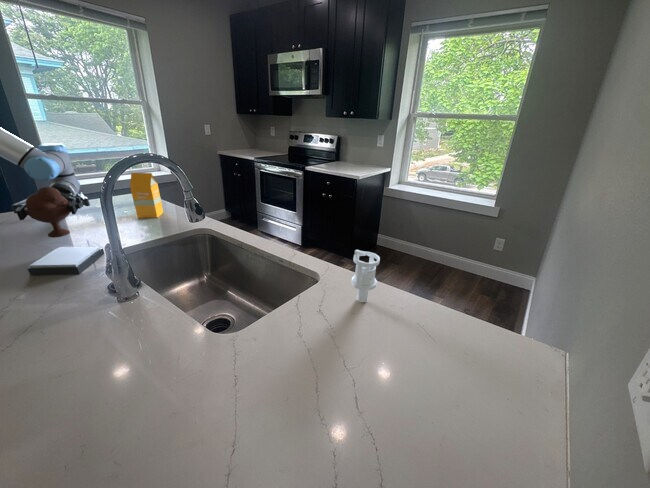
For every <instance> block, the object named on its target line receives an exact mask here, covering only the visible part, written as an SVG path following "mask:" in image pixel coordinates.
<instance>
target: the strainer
mask: <svg viewBox="0 0 650 488" xmlns="http://www.w3.org/2000/svg"><path fill="white" fill-rule="evenodd" d="M365 256H367V257H369V258H368V259H369V260H368V262H365V261H363V260H361V259H360V257H365ZM352 259H353V263H354V264H355V271H354V275H353V276H352V277H351V282H350V283H351V285H352V287H354V288H355V289H357V296H356V301H357V300H358V301H359V302H358V301H357V302H358V303H361V302H365V303H367V302H368V299H369V291H372V290H375V289H376V288H377V286H378V280H377V278H376V271H377V267H378V266H379V265H380V261H381V257H380V255H378V254H377V253H375V252H371V251H366V250H365V251H364V250H360V249H355V250H354V254H353V258H352Z"/></svg>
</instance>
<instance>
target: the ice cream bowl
mask: <svg viewBox="0 0 650 488" xmlns="http://www.w3.org/2000/svg"><path fill="white" fill-rule="evenodd" d="M70 204H71V202H70V201H67V199H66V198H65V197H63V196H62V195H61V193H60V192H59V191H58V190H57V189H55V188H53V187H49V186H45V187H41V188H39V189H38V190H37V192H34V193H32V194H29V196H27V198H26V207H24V209H25V211H26V213H27V214H28V215H27V216H29V217H30V218H31V219H32V220H35V221H37V222H41V223H48V224H50V225H51V226H52V230H51V231H50V232H48V233H47V237H48V238H61V237H64V236H68V235H69V234H71V231H70V230H69V229H68V228H62V227H61V226H60V222H61V221H63V220H65V219H66V218H67V217H68V216H69V215H70V214H72V212H71V209H70V207H69V206H70Z"/></svg>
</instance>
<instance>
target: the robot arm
mask: <svg viewBox="0 0 650 488" xmlns="http://www.w3.org/2000/svg"><path fill="white" fill-rule="evenodd" d="M37 147H38V148H37ZM37 147H35V146H34V145H32V144H30V143H29V142H26V141H24V140H23V139H21V138H19V137H18V136H16V135H14V134H12V133H10V132H9V131H7V130H5V129H4V128H2V127H0V157H1V158H3V159H4V160H6V161H9V162H10V163H12V164H14V165H16V166H17V167H20V168H21V169H23V170H24V172H26V174H27V175H28V177H30V178H31V179H34V180H36V181H39V182H46V181H49V182H50V185H49V186H48V187H53V188H55V189H57V190H58V191H59V192H60V193H61V195H62V196H63V197H65V198H66V199H67V201H70V202H71V204H70V206H69V207H70V209H71V215H76V214H77V212H78V210H81V209H82V208H84V206H85V207H90V206H91V204H90V201H89V198H88V197H87V196H85V195H84V194H83V192H80V191H81V183H80V181H79V179H78V178H77V177H76V174H75V171H74V168H73V165H72V162H71V161H72V160H71V158H70V153H69V152H68V149H67V147H66V145H65V144H63V143H59V142H58V143H57V142H56V143H55V142H54V143H53V142H52V143H42V144H41V143H40V144H39V145H38V146H37ZM26 199H27V198H26ZM26 199H23V200H20V201H19V202H16V203H13V204H11V205H10V206H11V209H12V212H13V214H16V215H17V217H18V220H19V221H24V220H25V219H26V218H27V217H28V216H29V215H28V214H27V213H26V211H25V209H24V207H26Z"/></svg>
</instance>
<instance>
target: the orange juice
mask: <svg viewBox="0 0 650 488" xmlns="http://www.w3.org/2000/svg"><path fill="white" fill-rule="evenodd" d="M130 174H131V175H130V185H129V188H130V192H131V196H132V200H133V205H134V209H135V212H136V217H137V218H138V219H157V218H159V217H160V216H161V215H162V214H163V213H164V209H163V202H162V198H161V193H160V189H159V184H158V182H157V181H156V178H155V177H154V175H153V173H152V172H130Z"/></svg>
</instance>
